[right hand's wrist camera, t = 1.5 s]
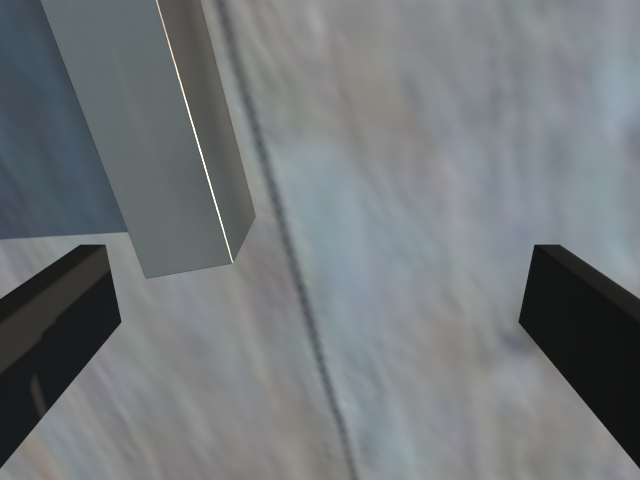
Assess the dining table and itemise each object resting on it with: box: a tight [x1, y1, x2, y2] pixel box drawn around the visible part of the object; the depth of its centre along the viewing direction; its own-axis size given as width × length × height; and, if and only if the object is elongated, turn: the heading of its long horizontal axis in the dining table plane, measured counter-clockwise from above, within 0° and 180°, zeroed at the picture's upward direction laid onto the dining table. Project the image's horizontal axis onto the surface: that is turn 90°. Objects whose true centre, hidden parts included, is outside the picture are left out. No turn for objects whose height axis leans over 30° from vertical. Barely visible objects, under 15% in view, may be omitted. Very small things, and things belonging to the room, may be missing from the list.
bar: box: [40, 0, 256, 279], centre depth 21 cm, size 23×5×8 cm, turn 11°
